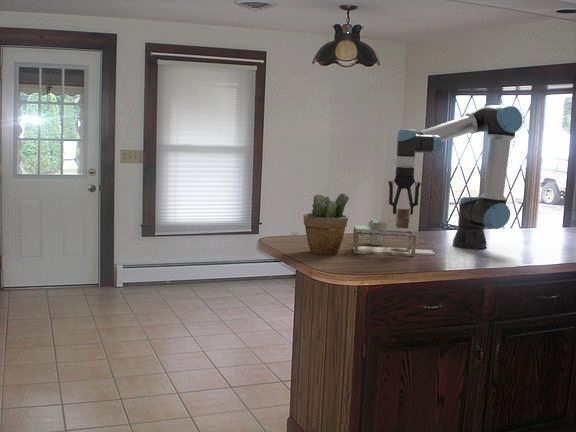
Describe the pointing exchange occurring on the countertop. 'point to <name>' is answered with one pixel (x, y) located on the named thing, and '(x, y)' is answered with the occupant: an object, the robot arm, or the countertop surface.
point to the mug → (376, 238)
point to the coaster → (424, 252)
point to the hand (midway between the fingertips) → (402, 221)
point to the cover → (368, 227)
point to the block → (403, 218)
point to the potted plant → (326, 224)
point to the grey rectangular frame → (385, 250)
